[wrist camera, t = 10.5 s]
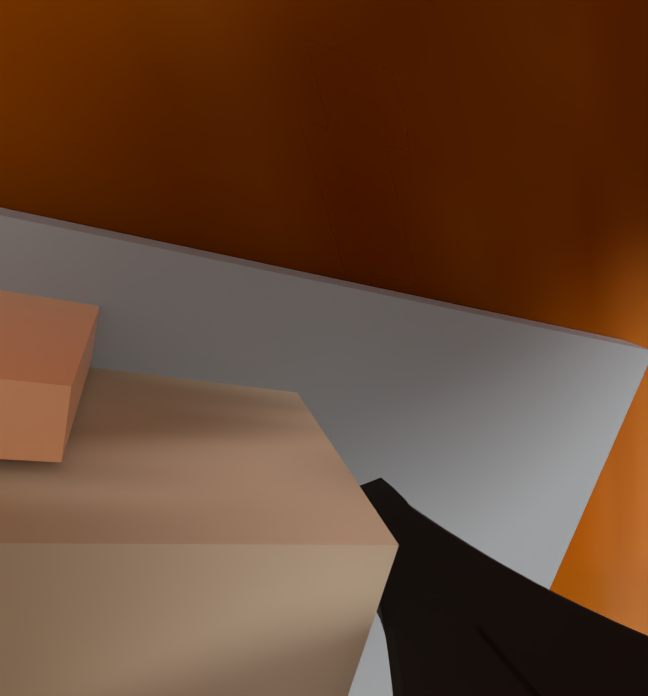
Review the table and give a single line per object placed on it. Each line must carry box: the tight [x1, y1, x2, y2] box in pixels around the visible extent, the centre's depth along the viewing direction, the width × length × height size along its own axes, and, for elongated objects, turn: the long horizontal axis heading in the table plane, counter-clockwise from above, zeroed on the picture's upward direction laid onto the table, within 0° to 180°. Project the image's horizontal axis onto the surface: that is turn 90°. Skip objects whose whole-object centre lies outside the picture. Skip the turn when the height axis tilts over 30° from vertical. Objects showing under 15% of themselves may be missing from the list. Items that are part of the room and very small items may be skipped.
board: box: [0, 207, 648, 696], centre depth 10 cm, size 17×10×1 cm, turn 76°
